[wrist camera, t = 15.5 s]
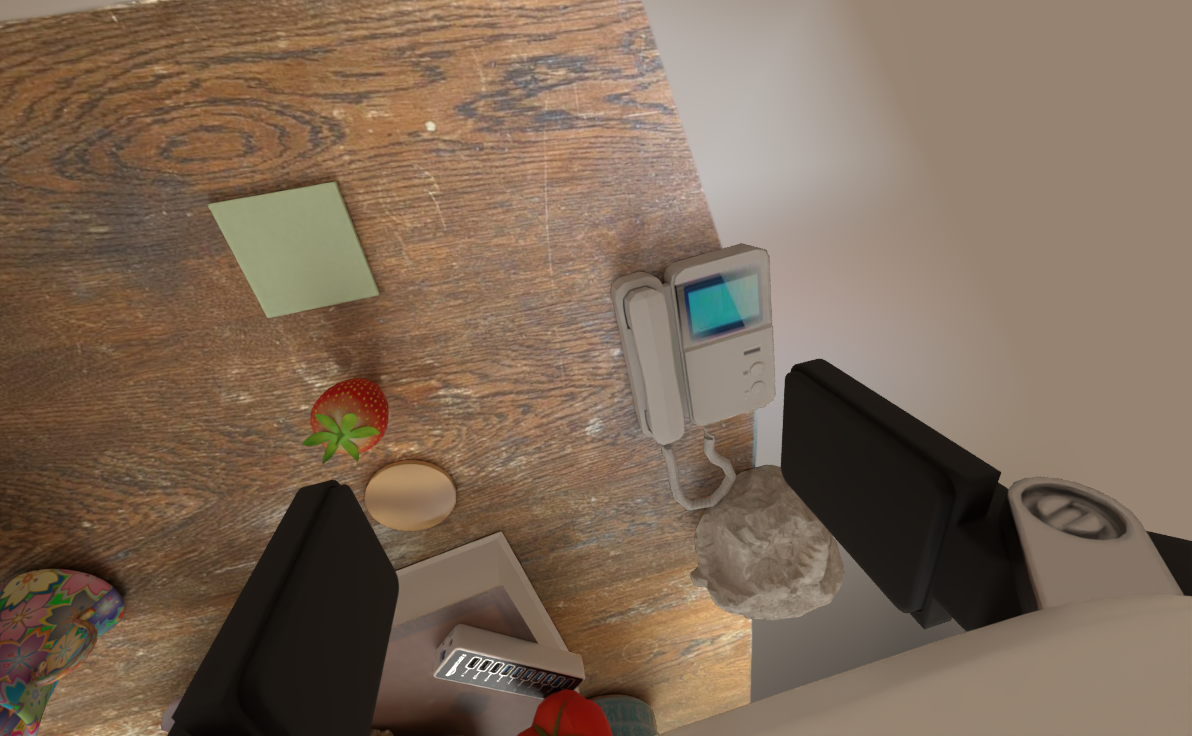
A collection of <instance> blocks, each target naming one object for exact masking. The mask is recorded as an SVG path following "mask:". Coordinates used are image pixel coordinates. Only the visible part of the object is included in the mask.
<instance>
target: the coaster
mask: <svg viewBox="0 0 1192 736" xmlns="http://www.w3.org/2000/svg"><path fill="white" fill-rule="evenodd" d="M456 497H457V491H456V486H455V483H454V481H453V479H452V478H451V477H450V475H449V474H448V473H447V472H446V471H444V470H443V469H442V468H440V467H438V466H436V465H434V464H431V463H428V462H424V461H418V460H405V461H399V462H395V463H392V464H389V465H387V466H385V467H383V468H382V469H380V470H379V471H378V472H376V473H375V474H374V475H373V476H372V478H371V479H370V481H369V483H368V485H367V487H366V490H365V496H364V499H365V505H366V508H367V510H368V512H369V513H370V515H371V516H372V517H373V518H374V519H375V520H376V521H378V522H379V523H381V524H382V525H384V526H386V527H389V528H392V529H395V530H400V531H419V530H424V529H428V528H431V527H433V526H435V525H437V524H439V523H441V522H442V521H443V520H445V519H446V518H447V517H448V516H449V514H450V513H451V512H452V510H453V509H454V506H455V503H456Z"/></svg>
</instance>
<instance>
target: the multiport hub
mask: <svg viewBox="0 0 1192 736" xmlns="http://www.w3.org/2000/svg"><path fill="white" fill-rule="evenodd" d="M433 676H434V677H435V678H440V679H445V680H450V681H455V682H460V683H465V684H470V685H475V686H480V687H485V688H490V689H495V690H499V691H504V692H509V693H514V694H519V695H524V696H529V697H534V698H539V699H544V700H545V699H546V698H547V697H548V696H550V695H551V694H552V693H555V692H559V691H562V690H565V689H568V690H575V689H576V688H577V687H578V686H579V685H580V684H581V683H582V682H583V681H584V680H585V673H584V667H583V662H582V656H581V655H579V654H575V653H572V652H568V651H564V650H560V649H556V648H552V647H549V646H545V645H541V644H537V643H533V642H529V641H525V640H522V639H518V638H514V637H510V636H506V635H502V634H499V633H495V632H491V631H487V630H483V629H479V628H476V627H472V626H468V625H464V624H458V625H456V626H455V627H454V629H453V630H452V631H451V632H450V633H449V635H448V636H447V637H446V638H445V640H444V641H443V642H442V643H441V644H440V646H439V647H438V648H437V649H436V653H435V662H434V671H433Z"/></svg>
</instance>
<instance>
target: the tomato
mask: <svg viewBox="0 0 1192 736" xmlns="http://www.w3.org/2000/svg"><path fill="white" fill-rule="evenodd" d="M517 736H613V735H612V731H611V728H610V726H609V723H608V721H607V718H606V716H605V714H604V712H603V710H602V709H601V707H600V706H599V705H597V704H596V703H595V702H594V701H591V700H588V699H585V698H584V697H583V696H582V695H580V694H579V693H578V692H576V691H574V690H568V689H565V690H562V691H559V692H555V693H552V694H551V695H550V696H548V697H547V698H546V699H545V700H544V701H542V702H541V703H540V704H539V706H538V707H537V710H536V713H535V716H534V720H533V723H532V726H531V727H529V728H527V729H526V730H524V731H522V732H520V733H519V734H518V735H517Z"/></svg>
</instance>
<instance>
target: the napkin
mask: <svg viewBox="0 0 1192 736" xmlns="http://www.w3.org/2000/svg"><path fill="white" fill-rule="evenodd" d="M208 207H209V208H210V210H211V212H212V214H213V216H214V218H215V220H216V222H217V224H218V225H219V227H220V229H221V231H222V233H223V235H224V237H225V239H226V241H227V243H228V244H229V246H230V248H231V250H232V252H233V254H234V256H235V258H236V260H237V261H238V263H239V265H240V267H241V269H242V271H243V273H244V275H245V277H246V279H247V280H248V282H249V284H250V286H251V288H252V290H253V292H254V294H255V296H256V297H257V299H258V301H259V303H260V305H261V307H262V309H263V311H264V313H265V315H266V316H267V318H271V317H276V316H281V315H286V314H291V313H296V312H300V311H305V310H310V309H315V308H320V307H325V306H329V305H334V304H339V303H344V302H349V301H354V300H358V299H363V298H368V297H373V296H378V295H380V292H379V289H378V287H377V284H376V282H375V279H374V276H373V274H372V271H371V269H370V266H369V264H368V261H367V259H366V256H365V254H364V251H363V248H362V246H361V243H360V241H359V238H358V236H357V233H356V231H355V228H354V226H353V223H352V220H351V218H350V215H349V213H348V210H347V208H346V205H345V203H344V200H343V197H342V195H341V192H340V190H339V187H338V185H337V182H336V181H335V182H329V183H324V184H318V185H312V186H307V187H301V188H295V189H290V190H284V191H278V192H273V193H267V194H261V195H256V196H250V197H244V198H239V199H233V200H227V201H222V202H216V203H210V204H208Z"/></svg>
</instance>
